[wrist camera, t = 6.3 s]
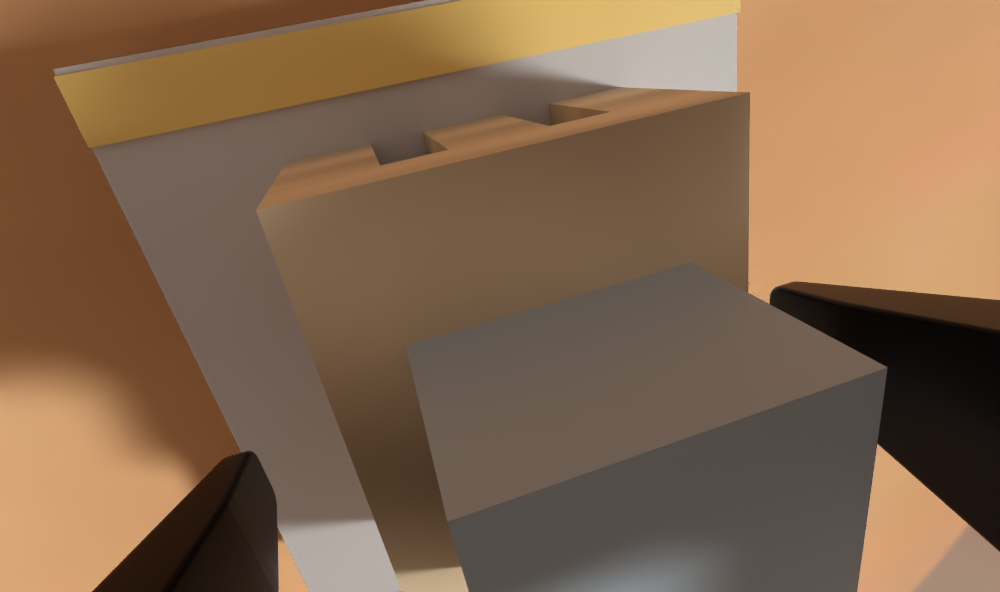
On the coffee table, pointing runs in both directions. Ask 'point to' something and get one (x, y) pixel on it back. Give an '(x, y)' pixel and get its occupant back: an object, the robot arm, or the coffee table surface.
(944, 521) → the coffee table surface
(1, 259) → the coffee table surface
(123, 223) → the coffee table surface
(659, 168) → the pallet
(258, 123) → the dock
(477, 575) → the grey square block
